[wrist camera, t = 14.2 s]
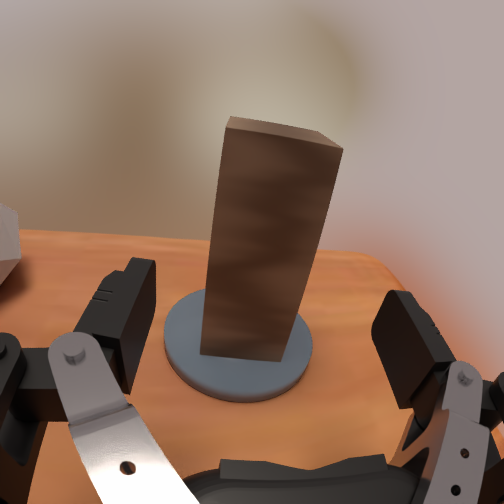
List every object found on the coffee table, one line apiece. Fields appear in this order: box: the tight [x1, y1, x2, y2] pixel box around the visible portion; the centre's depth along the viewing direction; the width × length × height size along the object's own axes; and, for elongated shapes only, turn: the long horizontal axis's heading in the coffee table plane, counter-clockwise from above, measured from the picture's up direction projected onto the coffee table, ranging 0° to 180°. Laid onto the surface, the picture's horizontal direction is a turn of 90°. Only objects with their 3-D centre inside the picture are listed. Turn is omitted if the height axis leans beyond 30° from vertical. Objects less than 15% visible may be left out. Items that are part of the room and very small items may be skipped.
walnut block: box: [200, 116, 343, 362], centre depth 18 cm, size 5×5×13 cm
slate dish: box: [164, 289, 312, 402], centre depth 21 cm, size 10×10×1 cm
